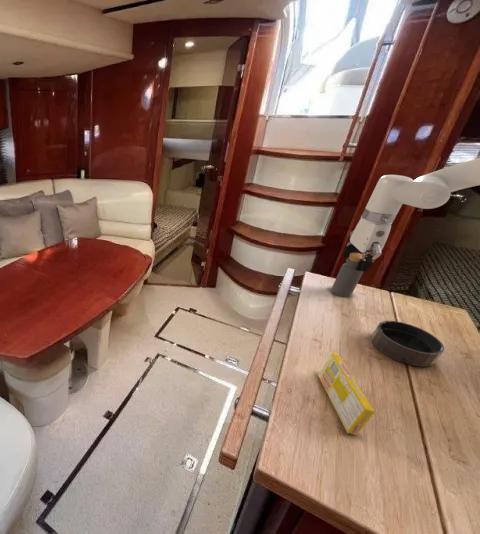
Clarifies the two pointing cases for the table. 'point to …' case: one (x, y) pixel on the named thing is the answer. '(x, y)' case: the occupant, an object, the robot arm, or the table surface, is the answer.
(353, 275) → the bottle
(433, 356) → the pan
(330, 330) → the table surface
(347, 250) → the robot arm
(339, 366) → the candy box
